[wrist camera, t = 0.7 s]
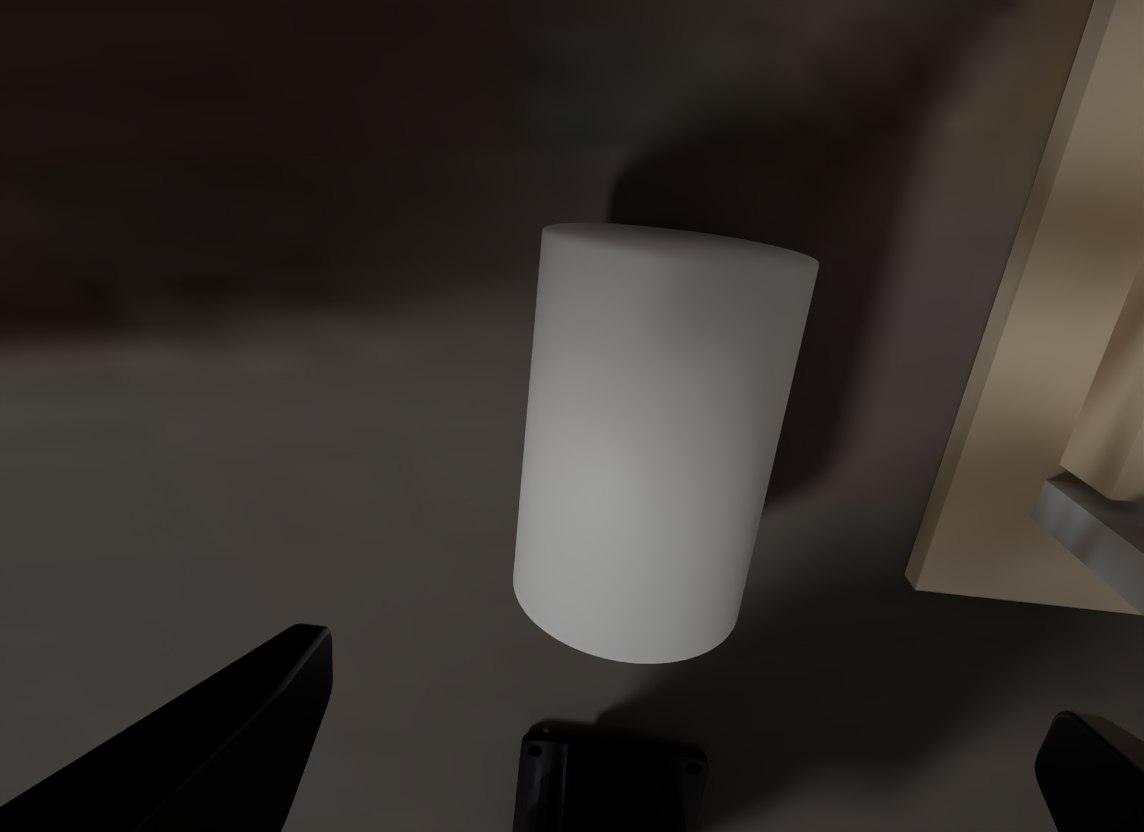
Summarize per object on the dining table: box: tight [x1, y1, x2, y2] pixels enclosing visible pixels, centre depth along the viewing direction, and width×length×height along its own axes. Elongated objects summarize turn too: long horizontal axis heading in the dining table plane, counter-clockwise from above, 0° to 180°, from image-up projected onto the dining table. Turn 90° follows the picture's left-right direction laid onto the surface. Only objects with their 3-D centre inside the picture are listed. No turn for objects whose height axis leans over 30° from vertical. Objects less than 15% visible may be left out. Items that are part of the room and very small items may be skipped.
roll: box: [513, 223, 819, 664], centre depth 17 cm, size 9×6×6 cm, turn 174°
